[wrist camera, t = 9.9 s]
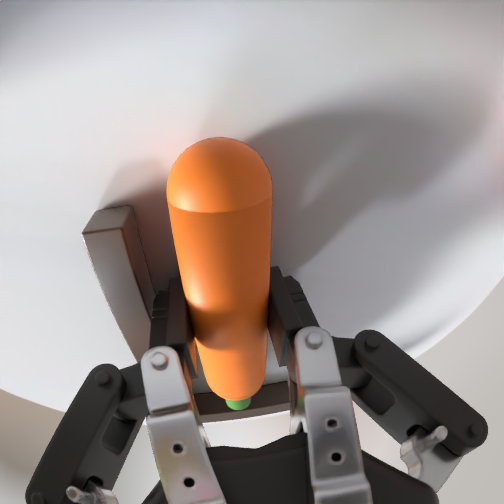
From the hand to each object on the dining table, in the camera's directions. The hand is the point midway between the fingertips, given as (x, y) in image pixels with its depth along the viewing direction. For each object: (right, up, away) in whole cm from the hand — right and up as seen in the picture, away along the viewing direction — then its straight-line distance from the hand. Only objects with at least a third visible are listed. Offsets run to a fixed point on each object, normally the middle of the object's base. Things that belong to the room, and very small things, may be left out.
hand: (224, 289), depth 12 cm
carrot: (0, 0, 0) cm, 0 cm away
